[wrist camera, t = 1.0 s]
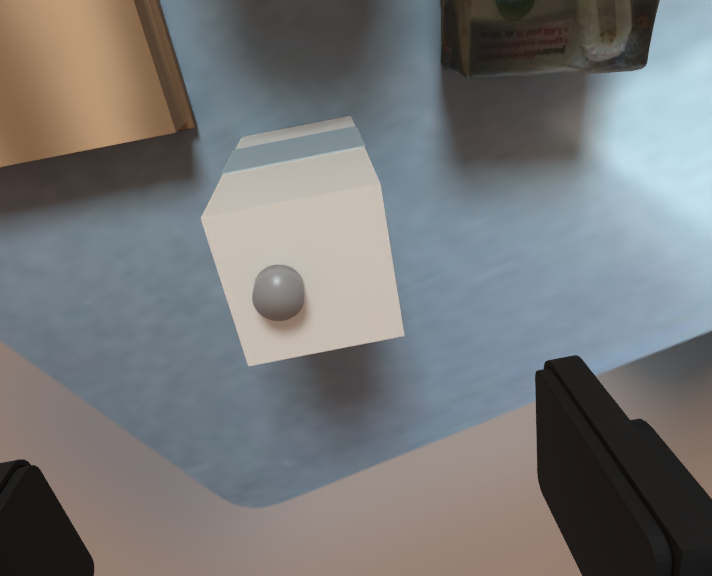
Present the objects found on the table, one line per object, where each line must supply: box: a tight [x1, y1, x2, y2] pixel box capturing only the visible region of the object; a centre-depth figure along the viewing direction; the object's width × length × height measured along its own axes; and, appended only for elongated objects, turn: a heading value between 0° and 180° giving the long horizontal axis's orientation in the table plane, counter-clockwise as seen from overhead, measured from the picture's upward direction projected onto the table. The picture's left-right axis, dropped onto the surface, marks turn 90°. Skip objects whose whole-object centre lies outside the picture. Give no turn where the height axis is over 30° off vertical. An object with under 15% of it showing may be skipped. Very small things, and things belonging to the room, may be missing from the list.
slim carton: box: [201, 116, 404, 366], centre depth 23 cm, size 6×6×13 cm
